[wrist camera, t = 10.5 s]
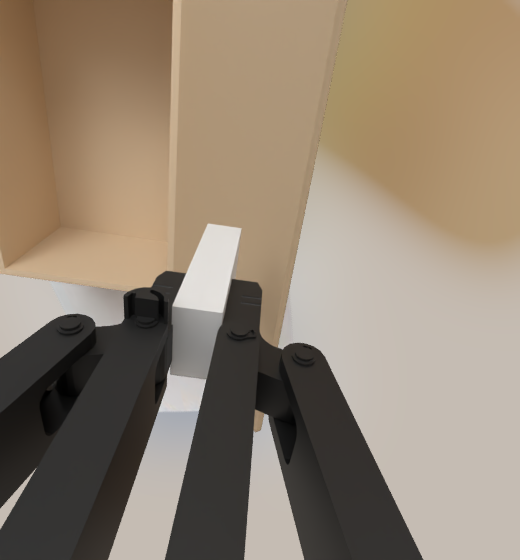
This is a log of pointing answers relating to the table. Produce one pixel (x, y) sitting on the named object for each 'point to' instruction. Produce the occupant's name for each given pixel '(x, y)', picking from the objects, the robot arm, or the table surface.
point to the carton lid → (252, 132)
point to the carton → (89, 140)
